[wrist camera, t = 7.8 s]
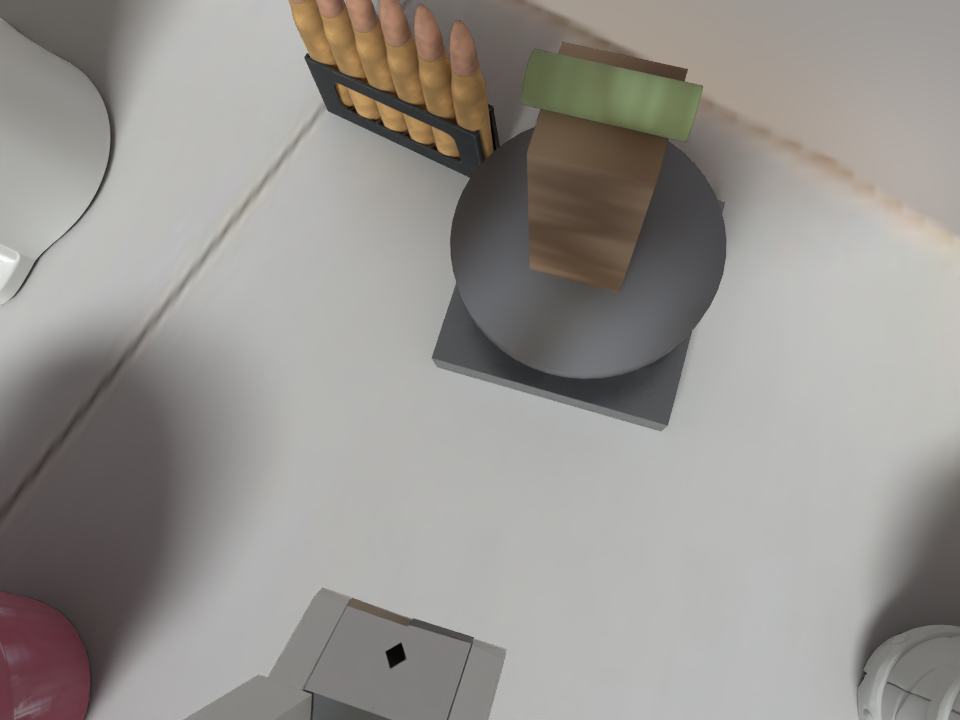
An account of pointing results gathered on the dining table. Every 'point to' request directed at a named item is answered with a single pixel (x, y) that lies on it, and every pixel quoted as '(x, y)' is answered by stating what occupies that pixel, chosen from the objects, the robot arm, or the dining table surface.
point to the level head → (591, 220)
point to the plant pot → (40, 663)
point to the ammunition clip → (400, 78)
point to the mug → (913, 676)
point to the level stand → (619, 397)
